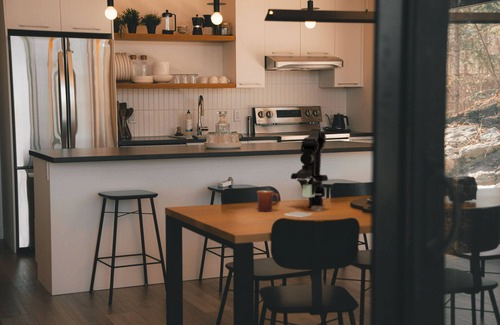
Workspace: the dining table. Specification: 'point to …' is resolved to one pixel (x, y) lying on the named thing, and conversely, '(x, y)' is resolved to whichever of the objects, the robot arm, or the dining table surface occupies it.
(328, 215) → the dining table surface
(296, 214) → the trivet
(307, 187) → the sage block
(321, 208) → the walnut block
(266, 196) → the mug
